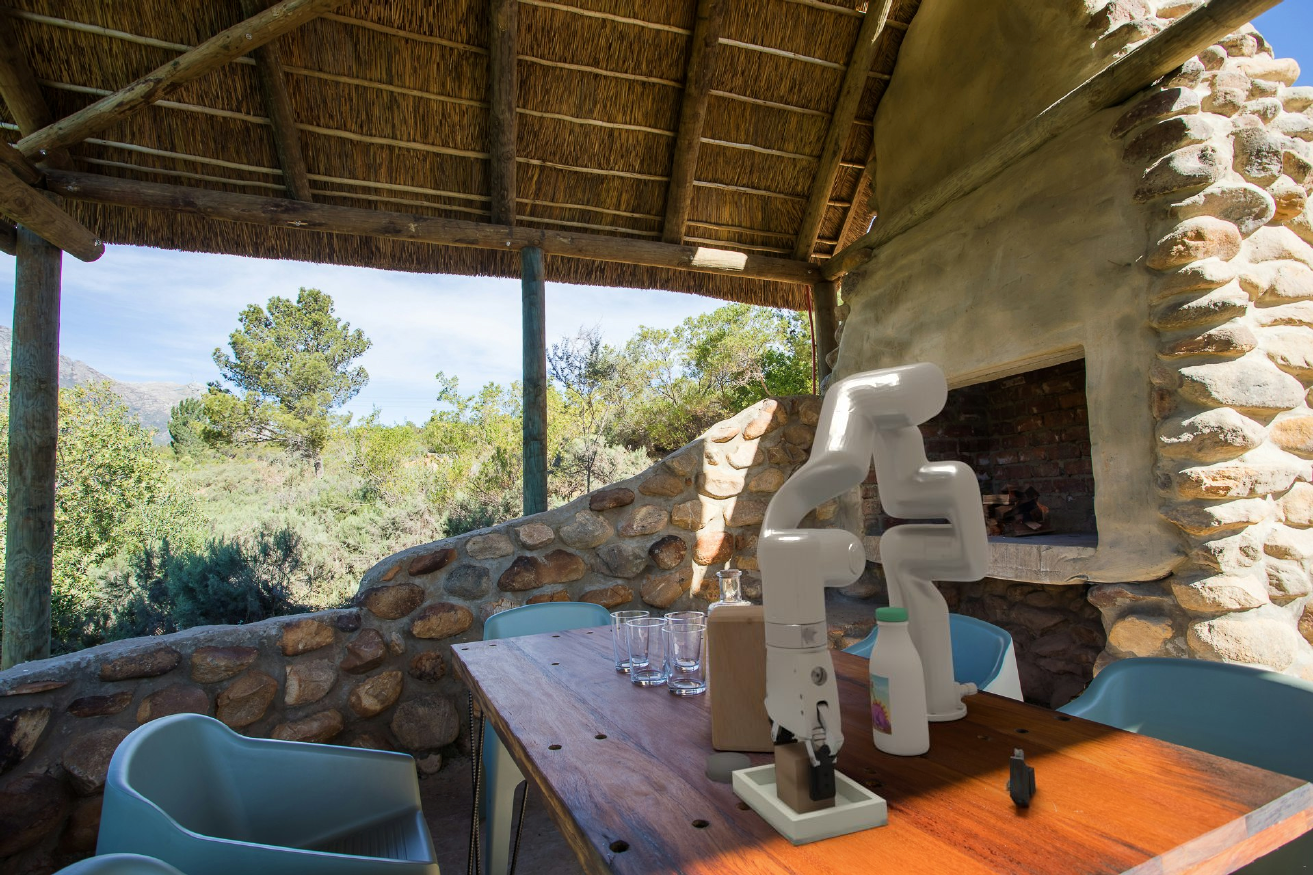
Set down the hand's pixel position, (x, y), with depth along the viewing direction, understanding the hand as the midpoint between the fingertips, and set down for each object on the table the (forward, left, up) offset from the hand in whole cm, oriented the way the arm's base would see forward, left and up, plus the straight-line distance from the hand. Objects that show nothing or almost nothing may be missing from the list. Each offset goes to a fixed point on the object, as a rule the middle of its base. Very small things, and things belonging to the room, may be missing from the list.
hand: (804, 784), depth 81 cm
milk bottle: (-23, -11, -3) cm, 26 cm away
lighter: (-24, +9, -3) cm, 26 cm away
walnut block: (0, 0, -2) cm, 2 cm away
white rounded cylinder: (-7, -11, -3) cm, 13 cm away
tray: (0, 0, -3) cm, 3 cm away
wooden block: (-4, -23, -3) cm, 24 cm away
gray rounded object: (+4, -13, -3) cm, 14 cm away
